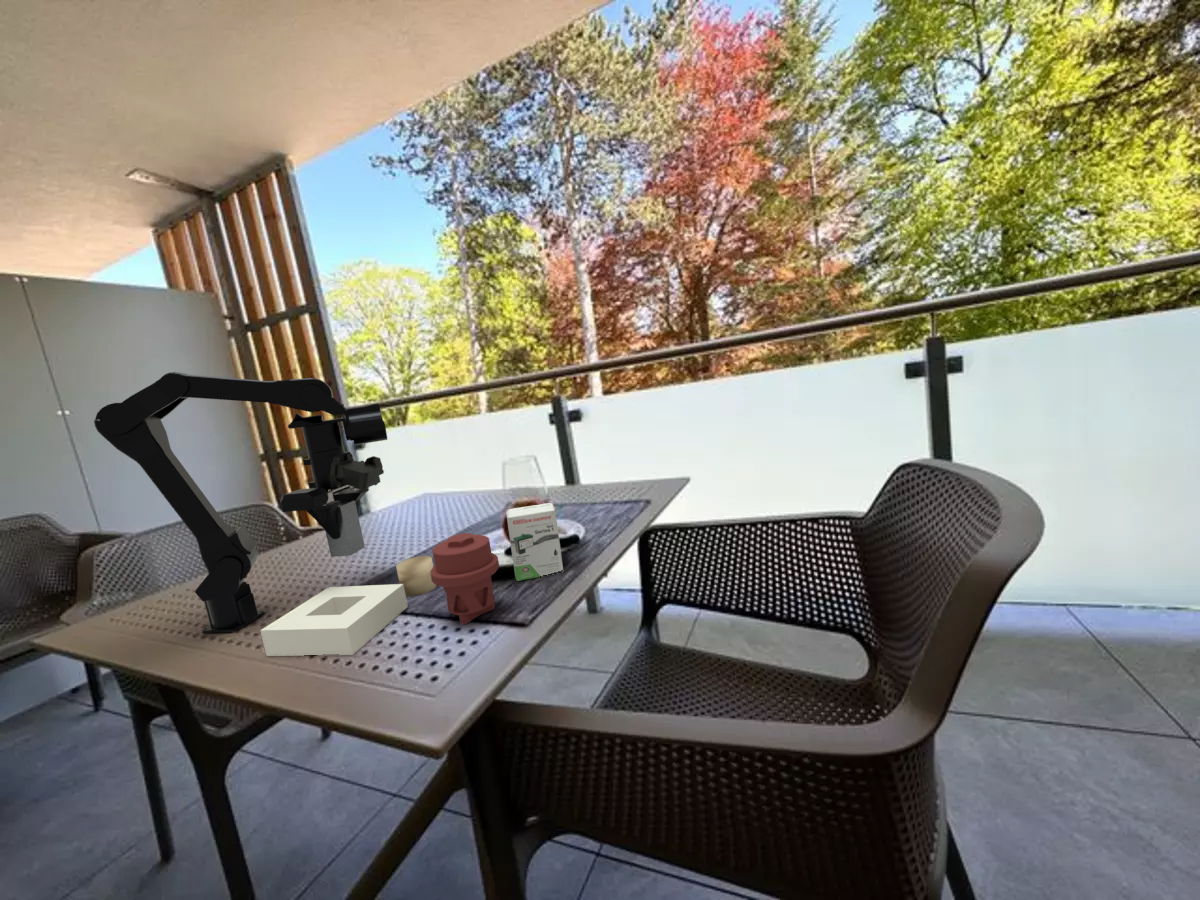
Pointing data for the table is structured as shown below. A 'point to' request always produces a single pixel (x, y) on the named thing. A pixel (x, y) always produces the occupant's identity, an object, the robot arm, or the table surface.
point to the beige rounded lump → (416, 575)
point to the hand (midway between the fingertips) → (344, 534)
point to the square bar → (346, 531)
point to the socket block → (335, 621)
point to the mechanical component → (465, 574)
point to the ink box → (534, 541)
